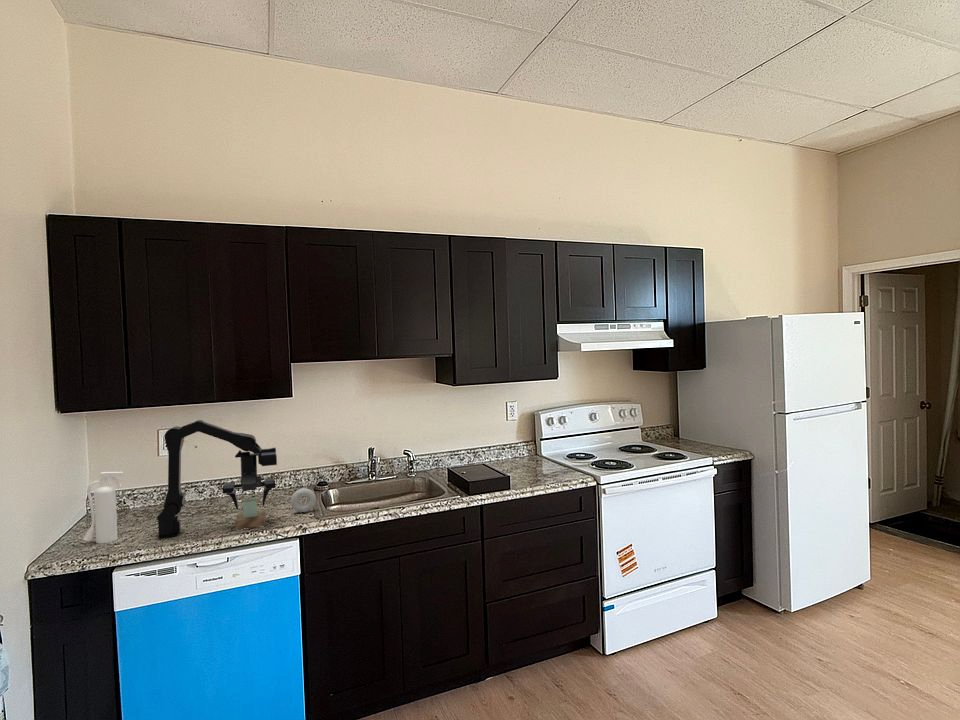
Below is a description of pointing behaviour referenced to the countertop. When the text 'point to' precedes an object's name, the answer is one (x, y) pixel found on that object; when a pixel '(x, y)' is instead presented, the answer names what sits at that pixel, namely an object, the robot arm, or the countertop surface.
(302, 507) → the donut
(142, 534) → the countertop surface
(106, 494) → the fire extinguisher
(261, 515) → the walnut base
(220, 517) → the countertop surface
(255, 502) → the sage block
